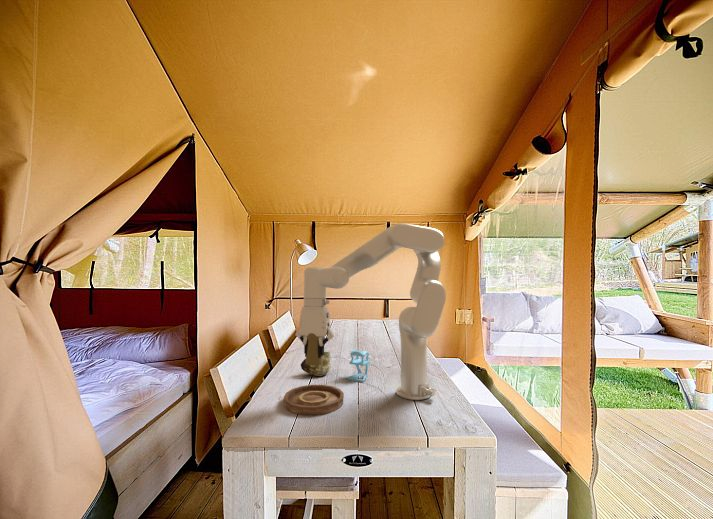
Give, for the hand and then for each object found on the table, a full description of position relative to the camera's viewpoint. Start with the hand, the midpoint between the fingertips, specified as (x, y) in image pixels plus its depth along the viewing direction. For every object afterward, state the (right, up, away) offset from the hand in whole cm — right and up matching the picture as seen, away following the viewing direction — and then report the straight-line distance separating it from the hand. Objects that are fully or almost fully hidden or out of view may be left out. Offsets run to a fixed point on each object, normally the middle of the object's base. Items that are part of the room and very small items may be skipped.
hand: (314, 355), depth 114 cm
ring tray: (0, -16, 0) cm, 16 cm away
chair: (+16, -17, +25) cm, 34 cm away
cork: (0, -2, 0) cm, 2 cm away
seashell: (-2, -17, +29) cm, 34 cm away
